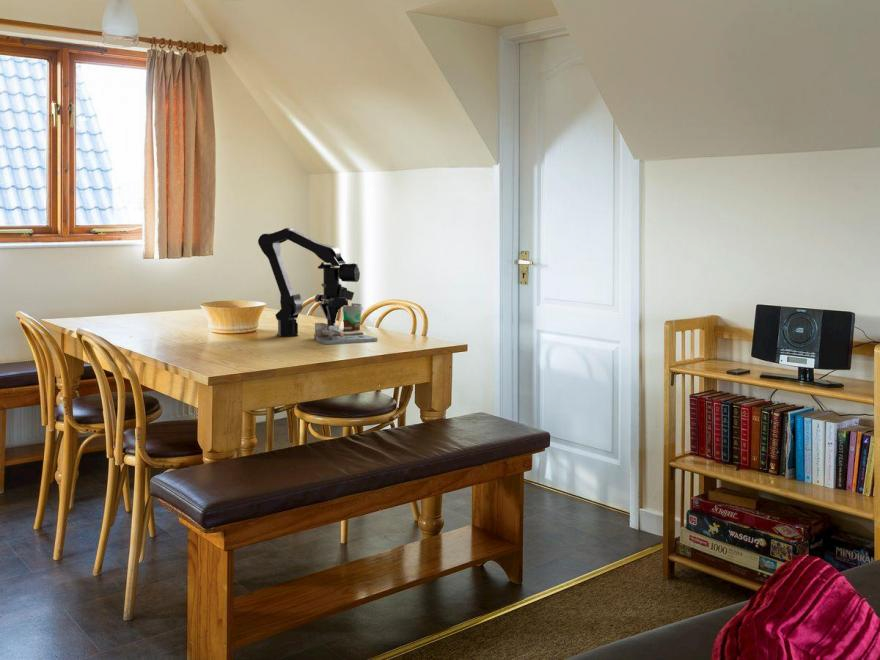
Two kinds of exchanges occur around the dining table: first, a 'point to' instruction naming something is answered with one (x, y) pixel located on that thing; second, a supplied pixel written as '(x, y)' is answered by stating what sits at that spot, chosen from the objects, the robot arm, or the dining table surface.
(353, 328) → the food container
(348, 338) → the hole plate
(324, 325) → the divider rail
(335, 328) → the divider leg
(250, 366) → the dining table surface
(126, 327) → the dining table surface
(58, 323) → the dining table surface
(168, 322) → the dining table surface
